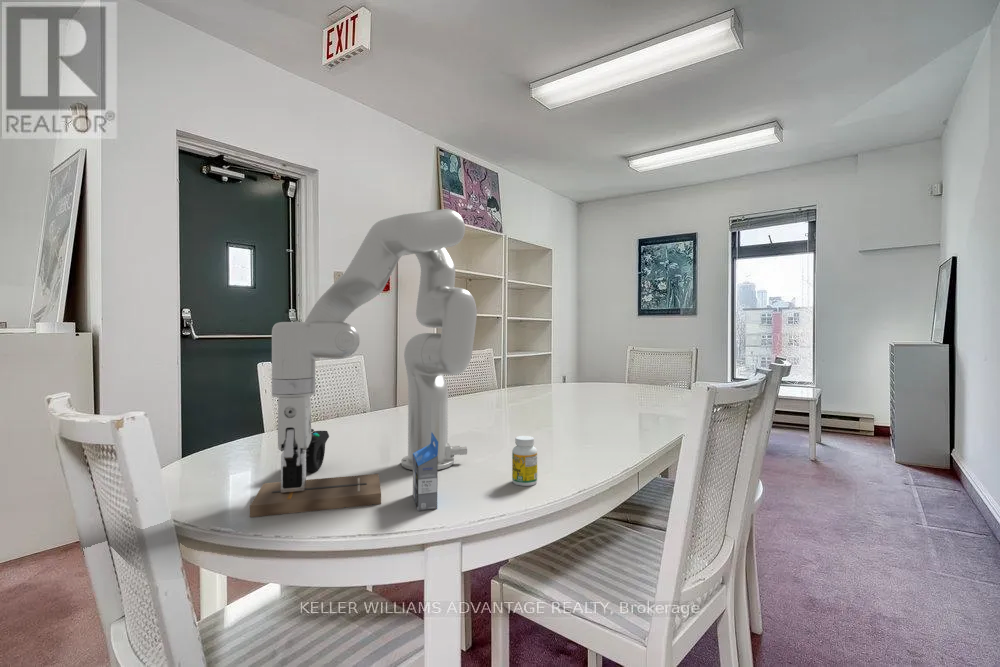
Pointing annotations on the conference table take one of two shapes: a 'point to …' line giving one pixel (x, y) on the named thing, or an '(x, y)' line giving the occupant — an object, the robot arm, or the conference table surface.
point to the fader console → (318, 495)
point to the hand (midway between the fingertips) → (293, 483)
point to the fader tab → (303, 463)
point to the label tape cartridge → (426, 476)
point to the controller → (316, 450)
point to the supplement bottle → (524, 461)
